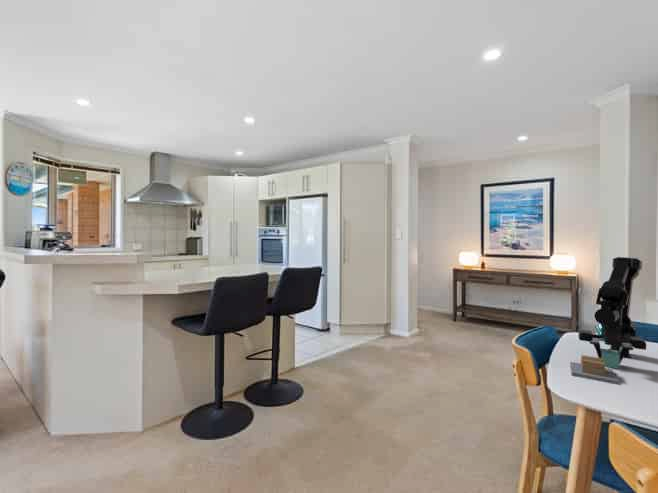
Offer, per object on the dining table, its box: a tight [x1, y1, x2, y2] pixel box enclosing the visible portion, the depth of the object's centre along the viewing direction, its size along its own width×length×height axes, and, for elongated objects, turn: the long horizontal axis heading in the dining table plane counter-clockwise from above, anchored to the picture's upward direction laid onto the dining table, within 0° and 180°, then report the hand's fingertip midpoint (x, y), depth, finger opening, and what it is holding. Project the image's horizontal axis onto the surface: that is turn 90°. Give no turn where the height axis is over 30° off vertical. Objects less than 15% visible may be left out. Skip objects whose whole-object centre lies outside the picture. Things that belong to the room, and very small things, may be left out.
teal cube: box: [600, 347, 620, 370], centre depth 125 cm, size 5×5×5 cm
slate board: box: [569, 361, 618, 385], centre depth 117 cm, size 11×12×1 cm
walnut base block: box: [580, 354, 606, 376], centre depth 117 cm, size 6×6×4 cm
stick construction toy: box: [594, 324, 604, 343], centre depth 154 cm, size 12×7×8 cm
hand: (609, 362), depth 125 cm, fingers closed on teal cube, 5 cm apart
